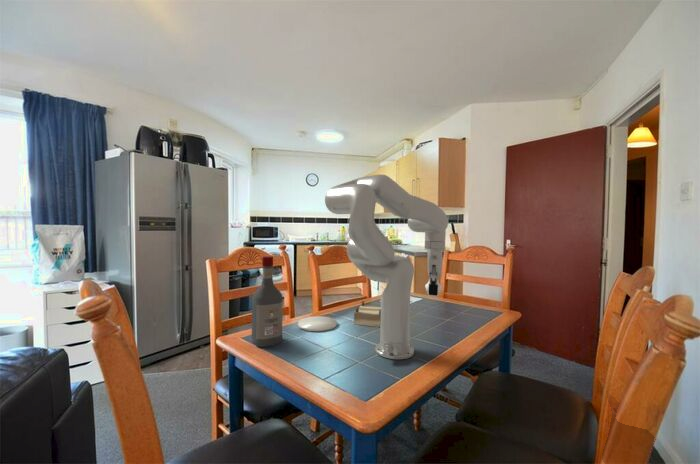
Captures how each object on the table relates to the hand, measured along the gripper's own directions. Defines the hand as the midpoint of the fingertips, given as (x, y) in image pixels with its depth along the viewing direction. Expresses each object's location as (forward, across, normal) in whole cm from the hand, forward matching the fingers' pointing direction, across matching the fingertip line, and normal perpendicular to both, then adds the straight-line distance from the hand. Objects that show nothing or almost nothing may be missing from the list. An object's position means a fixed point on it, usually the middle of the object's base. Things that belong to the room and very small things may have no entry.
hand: (433, 292), depth 113 cm
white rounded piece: (+1, 0, 0) cm, 1 cm away
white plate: (+17, -3, +46) cm, 49 cm away
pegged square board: (+16, +9, +26) cm, 32 cm away
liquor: (+18, -25, +56) cm, 63 cm away
